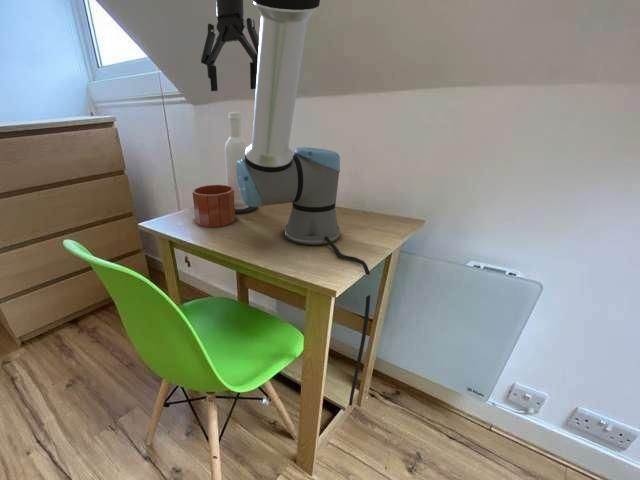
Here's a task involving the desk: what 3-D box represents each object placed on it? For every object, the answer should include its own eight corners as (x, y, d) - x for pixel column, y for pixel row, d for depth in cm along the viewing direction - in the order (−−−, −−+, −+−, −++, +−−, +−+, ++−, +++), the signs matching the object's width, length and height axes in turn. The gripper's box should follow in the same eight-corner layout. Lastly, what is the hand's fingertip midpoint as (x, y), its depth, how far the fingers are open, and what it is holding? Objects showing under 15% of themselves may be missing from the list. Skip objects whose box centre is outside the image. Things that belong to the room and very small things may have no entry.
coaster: (263, 208, 121) (263, 207, 121) (232, 216, 116) (232, 214, 115) (243, 201, 131) (243, 199, 130) (214, 207, 125) (214, 206, 125)
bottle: (250, 203, 126) (248, 111, 110) (248, 209, 119) (246, 112, 103) (229, 203, 127) (223, 112, 111) (226, 210, 120) (220, 113, 104)
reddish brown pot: (242, 221, 111) (241, 190, 106) (207, 230, 106) (204, 197, 100) (222, 211, 121) (220, 182, 115) (189, 219, 115) (185, 189, 110)
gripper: (277, -7, 90) (276, 87, 101) (198, 7, 100) (205, 91, 112) (265, -12, 85) (266, 88, 96) (183, 3, 95) (192, 92, 106)
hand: (233, 90), depth 104 cm, fingers open, 13 cm apart
